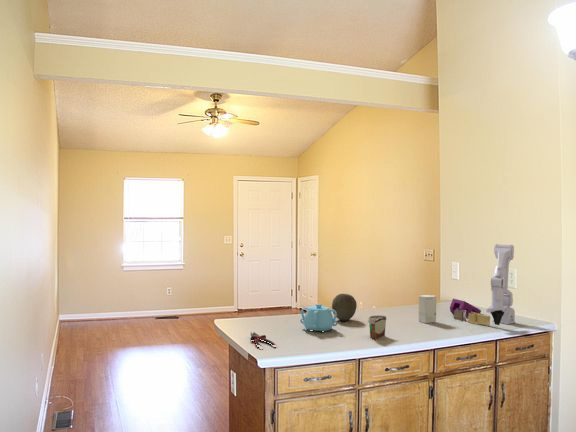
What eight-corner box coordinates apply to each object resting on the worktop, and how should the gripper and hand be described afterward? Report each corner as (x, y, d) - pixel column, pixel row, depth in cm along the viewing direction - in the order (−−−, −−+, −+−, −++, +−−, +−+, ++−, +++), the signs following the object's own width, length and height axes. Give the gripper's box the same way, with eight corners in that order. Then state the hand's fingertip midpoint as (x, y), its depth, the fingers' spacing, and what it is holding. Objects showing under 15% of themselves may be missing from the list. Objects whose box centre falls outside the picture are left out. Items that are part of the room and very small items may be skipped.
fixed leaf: (466, 320, 278) (466, 310, 278) (464, 321, 277) (464, 310, 277) (456, 318, 284) (456, 308, 284) (453, 318, 283) (454, 308, 283)
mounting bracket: (468, 321, 302) (448, 311, 295) (472, 309, 303) (452, 298, 296) (479, 325, 293) (459, 314, 286) (484, 312, 295) (464, 301, 288)
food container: (375, 333, 248) (375, 314, 248) (386, 335, 244) (386, 315, 244) (363, 338, 238) (363, 318, 238) (374, 340, 234) (374, 320, 234)
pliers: (277, 343, 221) (260, 329, 241) (260, 345, 217) (244, 331, 237) (277, 350, 221) (260, 335, 241) (259, 352, 218) (243, 337, 238)
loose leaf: (491, 324, 267) (491, 315, 267) (486, 326, 264) (486, 316, 264) (473, 321, 276) (473, 312, 276) (468, 322, 273) (468, 313, 273)
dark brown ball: (357, 323, 270) (358, 296, 270) (332, 322, 270) (332, 296, 270) (355, 317, 284) (355, 292, 284) (330, 317, 284) (331, 291, 284)
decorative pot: (325, 325, 265) (325, 300, 265) (339, 331, 251) (339, 305, 250) (298, 327, 259) (298, 302, 259) (311, 334, 244) (311, 307, 244)
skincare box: (425, 323, 270) (425, 297, 270) (417, 321, 276) (418, 295, 276) (436, 322, 274) (437, 295, 274) (429, 319, 280) (429, 294, 279)
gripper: (500, 297, 269) (500, 321, 269) (481, 299, 262) (481, 324, 262) (511, 299, 262) (511, 324, 262) (492, 301, 256) (492, 327, 256)
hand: (497, 324), depth 262 cm, fingers closed
